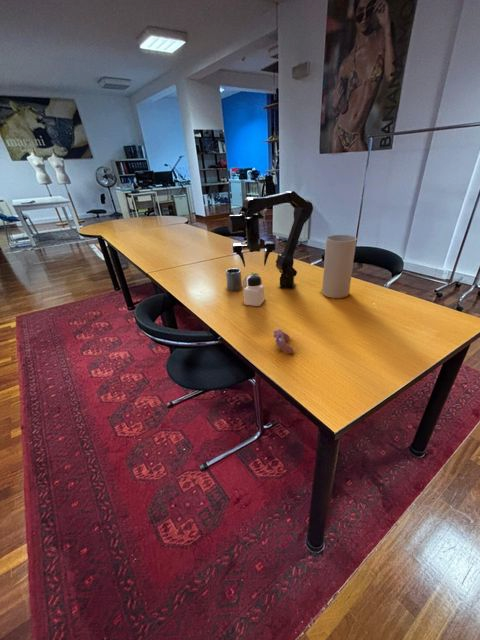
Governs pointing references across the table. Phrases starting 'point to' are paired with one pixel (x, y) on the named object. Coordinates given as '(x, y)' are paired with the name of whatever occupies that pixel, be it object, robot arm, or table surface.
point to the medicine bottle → (253, 291)
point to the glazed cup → (233, 279)
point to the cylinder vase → (338, 265)
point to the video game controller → (282, 341)
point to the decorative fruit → (246, 279)
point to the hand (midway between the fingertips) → (254, 266)
